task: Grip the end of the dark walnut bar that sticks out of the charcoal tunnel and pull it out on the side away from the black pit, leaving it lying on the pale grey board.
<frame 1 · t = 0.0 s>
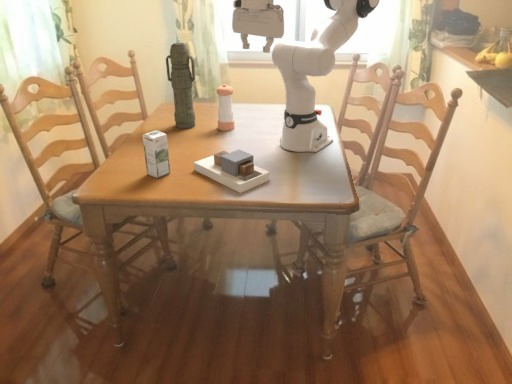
hand: (255, 50, 136), 39 cm above the table, tool pointing down, fingers open, 8 cm apart
board: (231, 175, 144), on the table
thermos: (185, 126, 190), on the table
syrup box: (159, 174, 145), on the table
pepper shaker: (226, 128, 187), on the table
bar: (233, 168, 142), point 3 cm above the table, touching board
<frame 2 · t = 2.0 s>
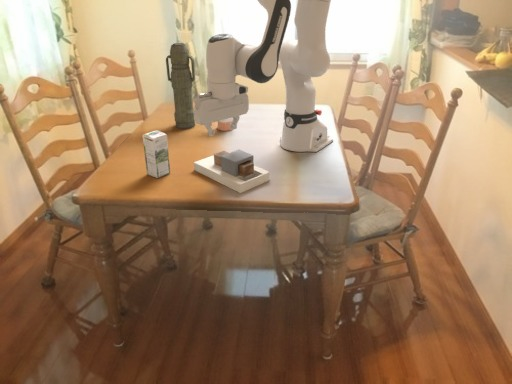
hand: (222, 131, 139), 15 cm above the table, tool pointing down, fingers open, 8 cm apart
nothing on the table moved.
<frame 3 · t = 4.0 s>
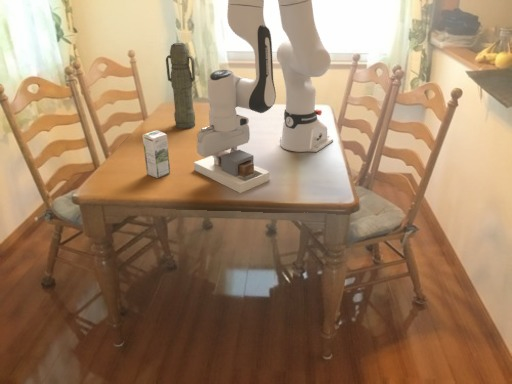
hand: (224, 161, 144), 4 cm above the table, tool pointing down, fingers closed on bar, 4 cm apart
bar: (233, 168, 142), point 3 cm above the table, touching board, gripper
everything else where it was.
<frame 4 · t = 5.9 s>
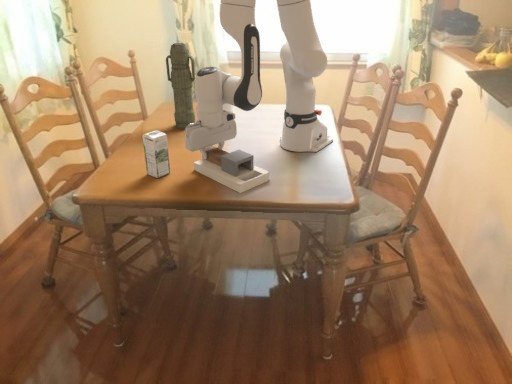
hand: (212, 156, 148), 4 cm above the table, tool pointing down, fingers closed on bar, 4 cm apart
bar: (221, 162, 146), point 3 cm above the table, touching gripper
everything else where it was.
when the fingers open (4 cm above the table, at t = 7.9 s): bar stays where it is, resting on board.
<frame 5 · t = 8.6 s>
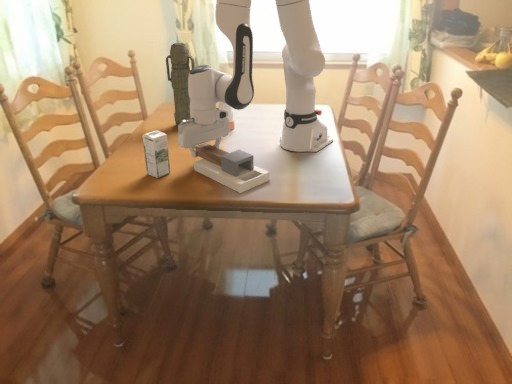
hand: (205, 153, 151), 4 cm above the table, tool pointing down, fingers open, 8 cm apart
bar: (214, 159, 149), point 3 cm above the table, touching board
everything else where it was.
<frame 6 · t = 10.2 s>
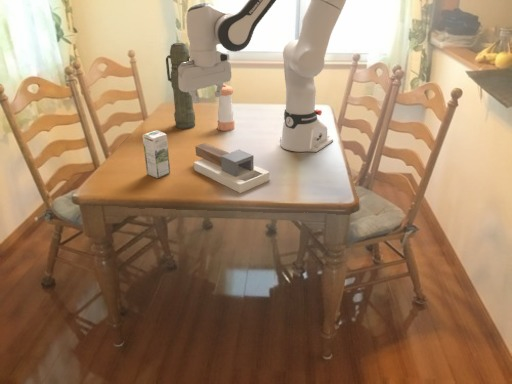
hand: (207, 99, 146), 22 cm above the table, tool pointing down, fingers open, 8 cm apart
nothing on the table moved.
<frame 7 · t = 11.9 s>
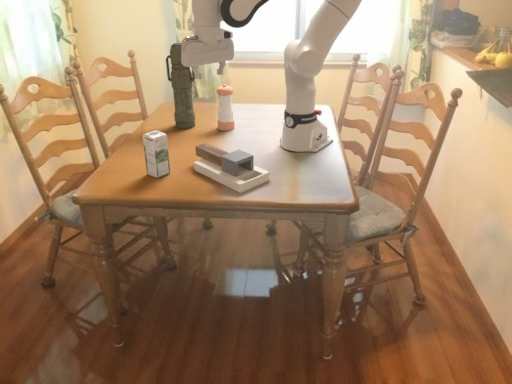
hand: (209, 76, 146), 29 cm above the table, tool pointing down, fingers open, 8 cm apart
nothing on the table moved.
at the end: bar 1.1 cm from the target spot on the board, point 3.0 cm above the board's base; bar tilted 0°; the gripper is holding nothing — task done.
